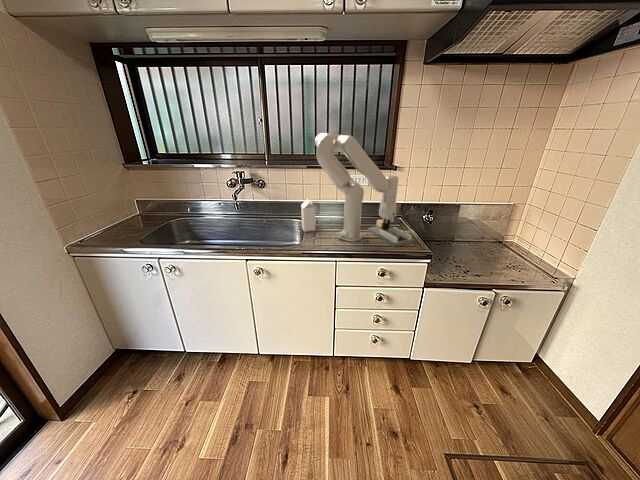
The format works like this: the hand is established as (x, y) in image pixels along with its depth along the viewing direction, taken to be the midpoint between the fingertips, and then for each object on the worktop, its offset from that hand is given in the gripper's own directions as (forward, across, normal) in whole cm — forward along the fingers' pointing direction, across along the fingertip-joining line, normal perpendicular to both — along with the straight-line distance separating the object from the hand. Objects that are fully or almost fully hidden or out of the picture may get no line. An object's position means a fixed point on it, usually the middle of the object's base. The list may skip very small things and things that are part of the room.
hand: (386, 229), depth 149 cm
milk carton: (+4, -27, -38) cm, 47 cm away
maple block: (+2, -5, +1) cm, 5 cm away
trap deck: (+4, +3, 0) cm, 5 cm away
